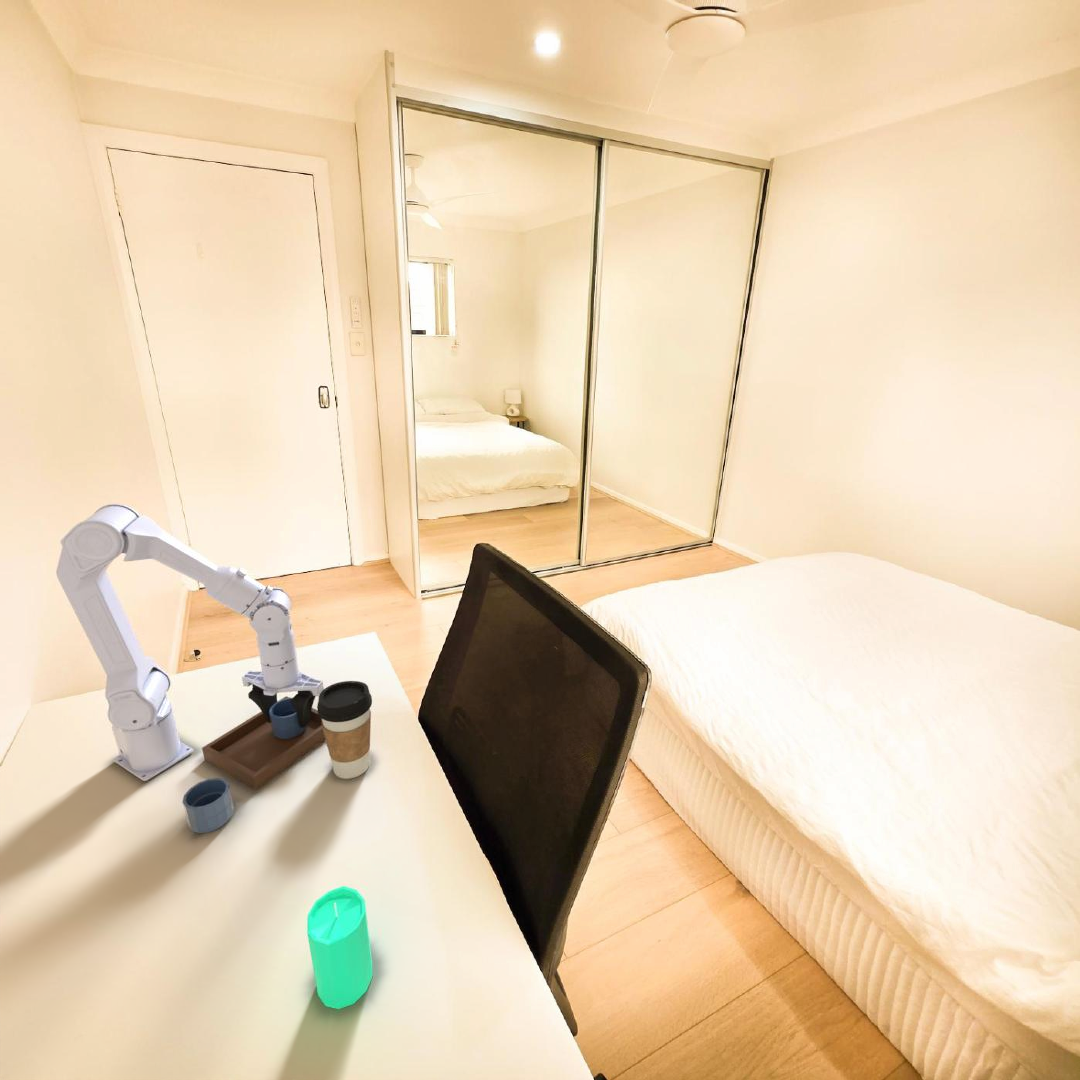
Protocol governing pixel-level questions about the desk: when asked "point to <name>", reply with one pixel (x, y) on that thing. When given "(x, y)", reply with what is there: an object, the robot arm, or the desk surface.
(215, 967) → the desk surface
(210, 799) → the rice bowl
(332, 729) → the coffee cup
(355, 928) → the candle
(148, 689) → the robot arm
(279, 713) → the rice bowl
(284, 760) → the tray
